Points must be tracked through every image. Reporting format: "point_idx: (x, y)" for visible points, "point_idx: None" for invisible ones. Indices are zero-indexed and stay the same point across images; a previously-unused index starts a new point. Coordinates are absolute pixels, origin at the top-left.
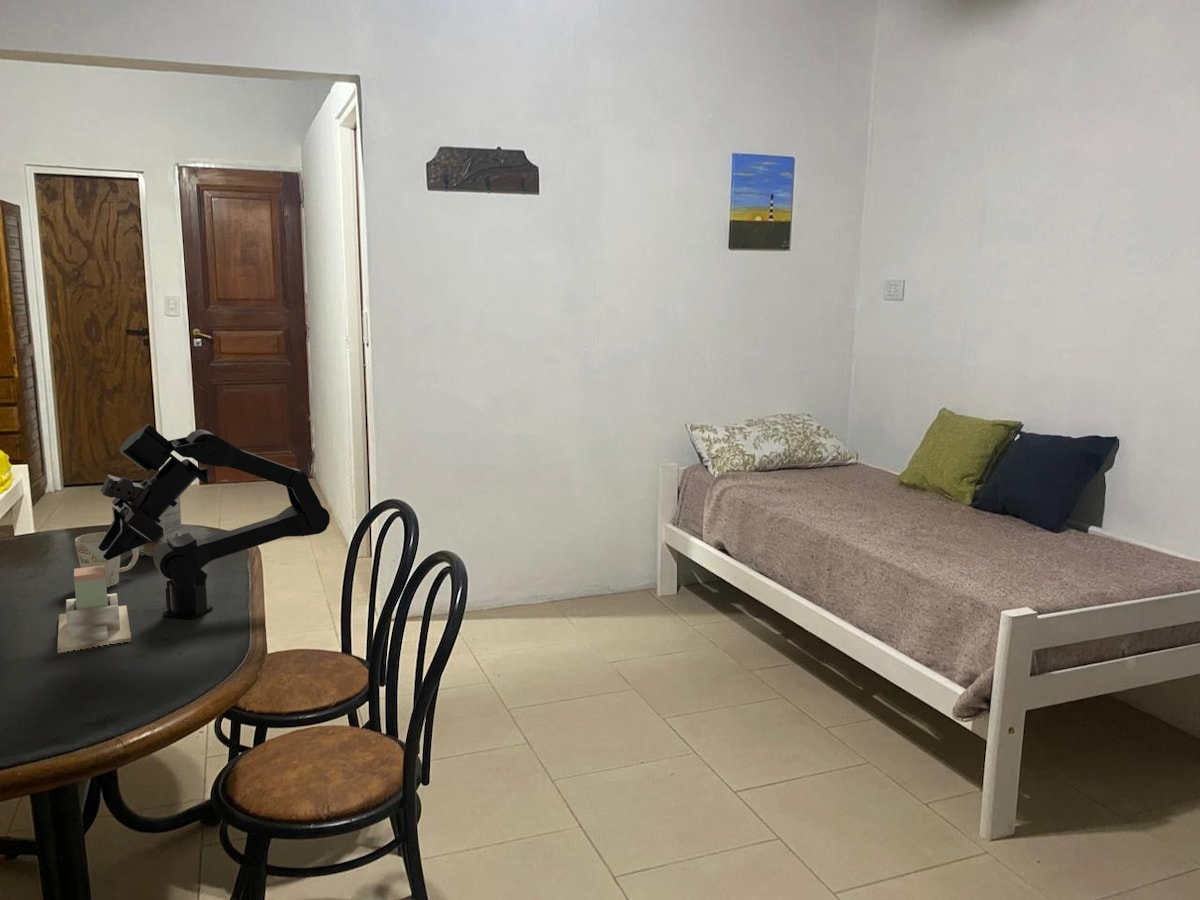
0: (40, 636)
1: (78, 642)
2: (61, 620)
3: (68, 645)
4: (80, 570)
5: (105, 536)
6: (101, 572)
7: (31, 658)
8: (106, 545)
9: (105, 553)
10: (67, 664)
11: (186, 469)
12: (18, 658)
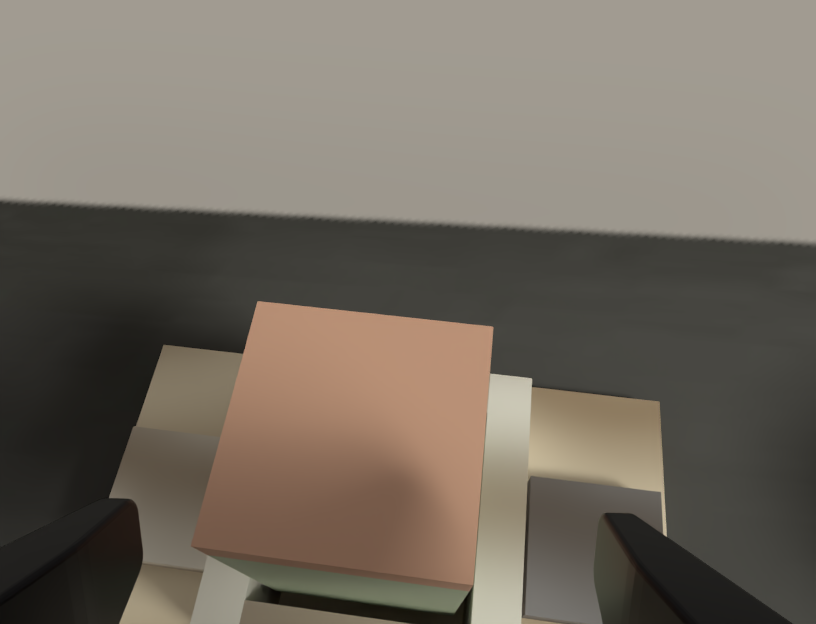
0: (432, 318)
1: (178, 429)
2: (553, 400)
3: (168, 387)
4: (406, 363)
5: (681, 607)
6: (224, 513)
7: (186, 270)
8: (619, 622)
9: (75, 516)
10: (11, 371)
11: None
12: (220, 235)
